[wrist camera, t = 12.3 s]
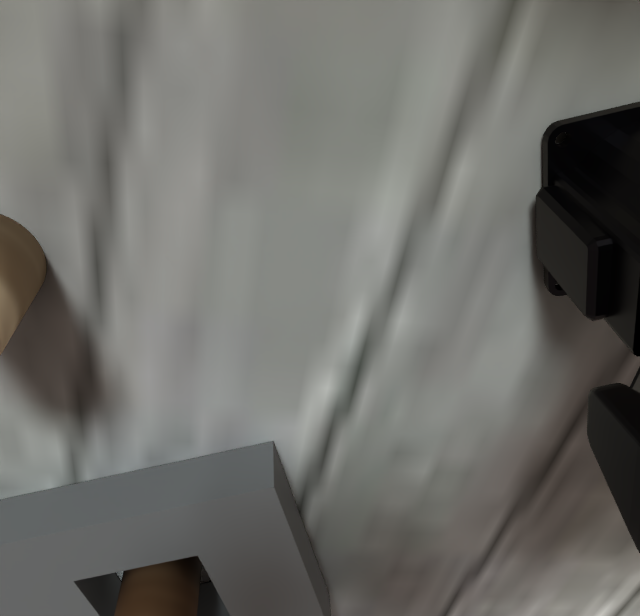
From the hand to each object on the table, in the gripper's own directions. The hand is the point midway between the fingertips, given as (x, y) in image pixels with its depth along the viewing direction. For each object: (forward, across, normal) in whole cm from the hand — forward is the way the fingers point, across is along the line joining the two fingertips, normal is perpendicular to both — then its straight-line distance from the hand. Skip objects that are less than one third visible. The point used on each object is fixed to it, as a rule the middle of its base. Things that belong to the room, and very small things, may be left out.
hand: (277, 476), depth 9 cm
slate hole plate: (+13, +10, +18) cm, 24 cm away
